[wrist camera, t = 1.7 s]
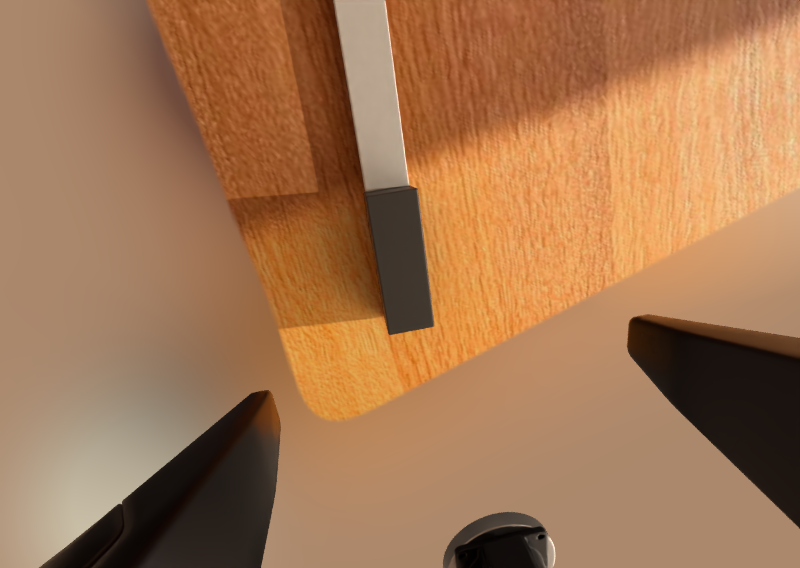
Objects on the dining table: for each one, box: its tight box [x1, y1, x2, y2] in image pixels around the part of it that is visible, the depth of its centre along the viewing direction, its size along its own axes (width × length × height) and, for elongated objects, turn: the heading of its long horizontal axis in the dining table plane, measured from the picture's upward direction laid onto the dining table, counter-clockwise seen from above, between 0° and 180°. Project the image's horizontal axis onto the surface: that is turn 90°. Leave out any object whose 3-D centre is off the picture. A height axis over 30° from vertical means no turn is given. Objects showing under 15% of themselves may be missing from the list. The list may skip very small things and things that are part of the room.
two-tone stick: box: [333, 0, 434, 335], centre depth 17 cm, size 17×2×2 cm, turn 8°
